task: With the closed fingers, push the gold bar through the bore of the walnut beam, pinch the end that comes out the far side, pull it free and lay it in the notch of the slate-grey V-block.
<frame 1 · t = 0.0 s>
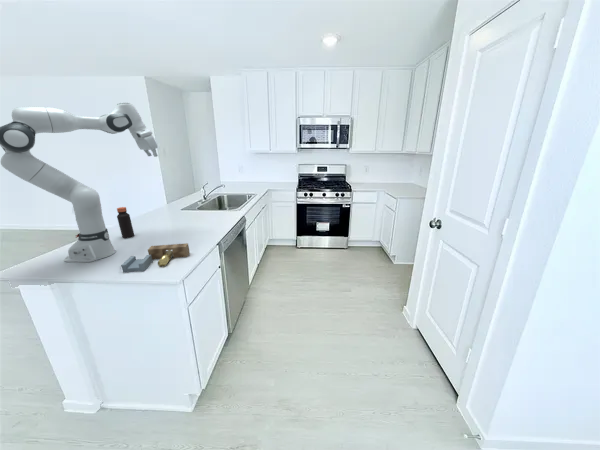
hand: (153, 156, 148), 52 cm above the countertop, tool tilted 20°, fingers open, 8 cm apart
v block: (138, 266, 123), on the countertop
bottle: (128, 236, 164), on the countertop
beam: (170, 256, 135), on the countertop
gold bar: (166, 261, 129), on the countertop
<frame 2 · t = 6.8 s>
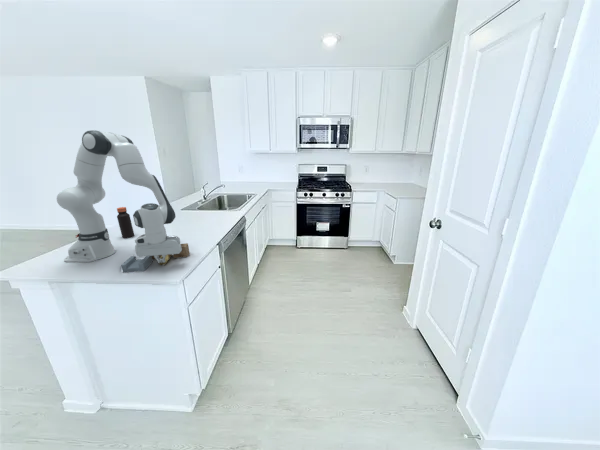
hand: (161, 262, 123), 2 cm above the countertop, tool pointing down, fingers closed, pressing on gold bar
gold bar: (167, 259, 131), on the countertop, tilted 15°, touching gripper
everything else where it was.
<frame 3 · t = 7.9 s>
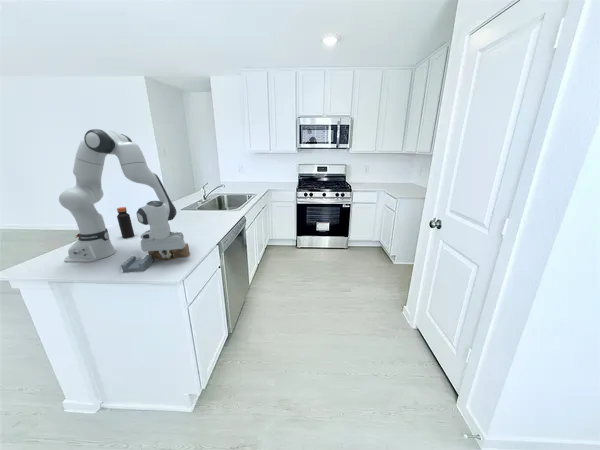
hand: (166, 257, 129), 2 cm above the countertop, tool pointing down, fingers closed, pressing on gold bar
gold bar: (171, 255, 136), on the countertop, tilted 14°, touching gripper
everything else where it was.
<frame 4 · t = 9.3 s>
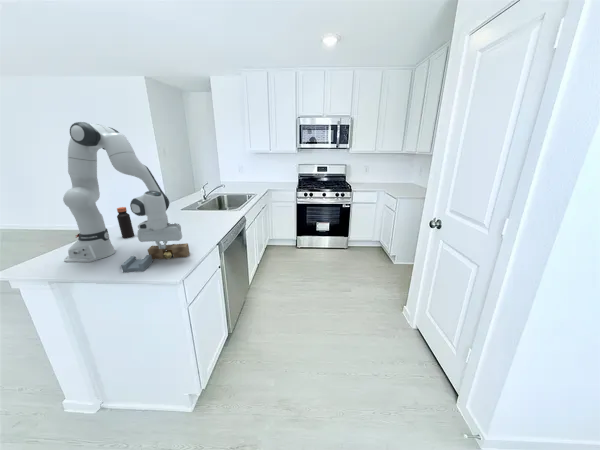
hand: (162, 248, 128), 7 cm above the countertop, tool pointing down, fingers closed
gold bar: (172, 254, 137), on the countertop, tilted 14°
everything else where it was.
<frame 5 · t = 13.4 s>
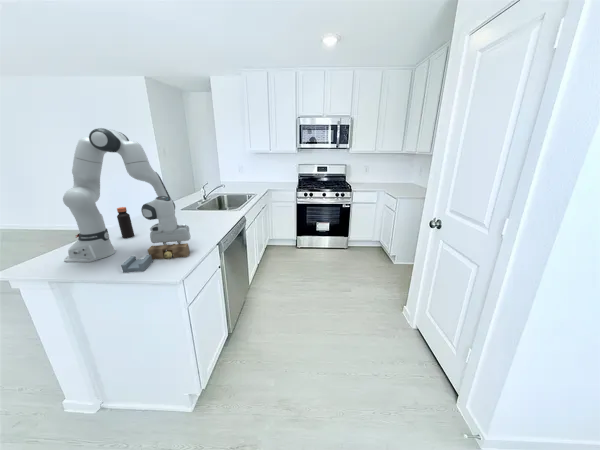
hand: (173, 248, 140), 2 cm above the countertop, tool pointing down, fingers closed on gold bar, 4 cm apart
gold bar: (172, 254, 137), on the countertop, tilted 5°, touching gripper
everything else where it was.
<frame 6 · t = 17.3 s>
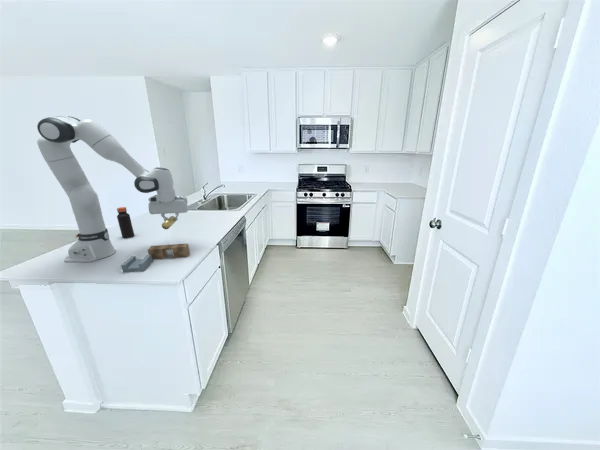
hand: (171, 220, 141), 17 cm above the countertop, tool pointing down, fingers closed on gold bar, 4 cm apart
gold bar: (170, 225, 139), point 15 cm above the countertop, tilted 5°, touching gripper
everything else where it was.
when the fingers open (5 cm above the countertop, at t = 21.3 s): gold bar stays where it is, resting on v block.
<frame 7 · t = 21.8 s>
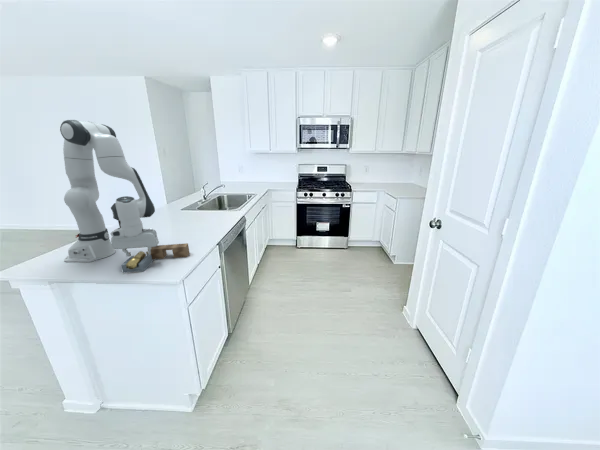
hand: (138, 255, 125), 5 cm above the countertop, tool pointing down, fingers open, 8 cm apart
gold bar: (137, 263, 123), point 2 cm above the countertop, tilted 6°, touching v block
everything else where it was.
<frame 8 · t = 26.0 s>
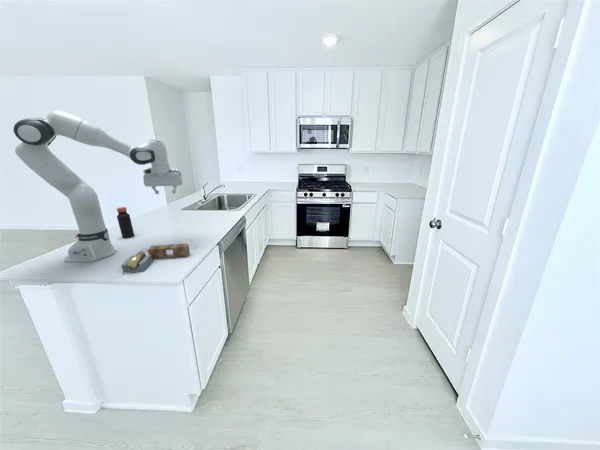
hand: (165, 193, 145), 31 cm above the countertop, tool pointing down, fingers open, 8 cm apart
nothing on the countertop moved.
at the end: gold bar 0.2 cm off-centre on the v block, point 2.0 cm above the v block's base; gold bar touching v block; the gripper is holding nothing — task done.
